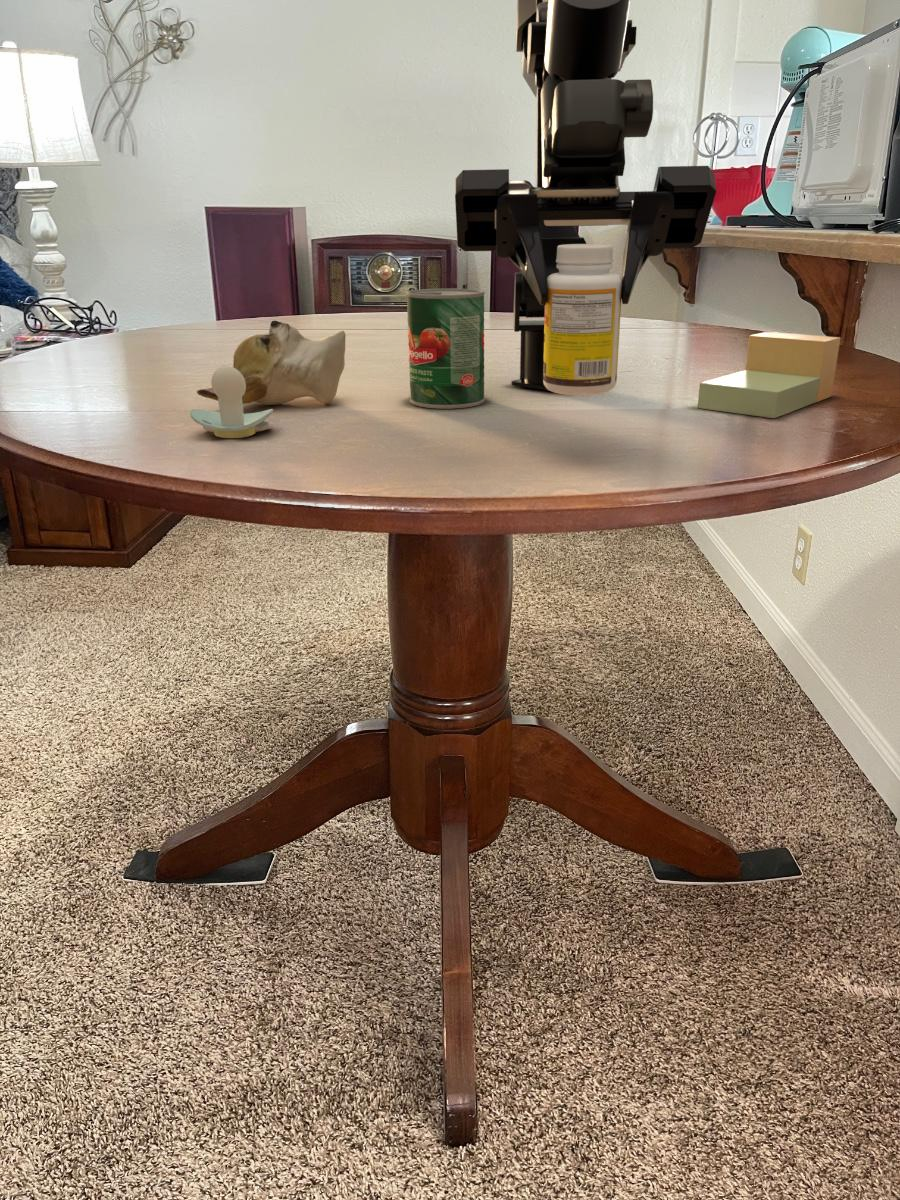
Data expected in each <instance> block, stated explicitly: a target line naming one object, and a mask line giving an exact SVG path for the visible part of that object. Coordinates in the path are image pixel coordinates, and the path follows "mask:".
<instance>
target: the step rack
mask: <svg viewBox="0 0 900 1200" xmlns="http://www.w3.org/2000/svg"><path fill="white" fill-rule="evenodd" d="M840 343H841V337H840V336H828V335H816V334H815V335H813V334H801V333H787V332H772V331H763V332H759V333H755V334H751V335H749V336H748V344H747V352H746V361H745V369H742V370H740V371H736V372H733V373H729V374H726V375H722V376H720V377H716V378H712V379H708V380H704V381H702V382H699V388H698V396H697V397H698V398H697V400H698V401H697V409H700V410H701V409H702V410H709V411H716V412H724V413H731V414H738V415H746V416H752V417H753V416H754V417H758V418H759V417H760V418H767V419H777V418H779V417H782V416H784V415H787V414H789V413H792V412H794V411H797V410H799V409H802V408H805V407H807V406H810V405H813V404H815V403H818V402H821V401H823V400H826V399H828V398H831V397H832V395H833V388H834V383H835V376H836V369H837V363H838V357H839V351H840Z"/></svg>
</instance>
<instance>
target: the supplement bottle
mask: <svg viewBox="0 0 900 1200" xmlns="http://www.w3.org/2000/svg"><path fill="white" fill-rule="evenodd" d="M613 253H614V246H613V245H612V244H608V243H607V244H606V243H586V244H566V245H559V246H558V247H557V258H556V262H557V265H556V268H558V269H559V273H554V274H551V275H549V276H548V278H547V301H546V305H545V317H543V318H544V366H543V382H544V385H545V387H546V388H547V389H548V390H547V391H549V390H550V392H552V393H555V394H559V395H567V396H590V395H591V396H593V395H600V394H604V393H608V392H610V391H612V390H613V389H614V388H615V387H616V385H617V379H618V366H619V364H618V363H619V347H620V332H621V331H620V330H621V311H622V276H621V275H620V274H618V273H615V272H610V270H611V269H612V268H613V262H614V259H613V257H614V256H613Z"/></svg>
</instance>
